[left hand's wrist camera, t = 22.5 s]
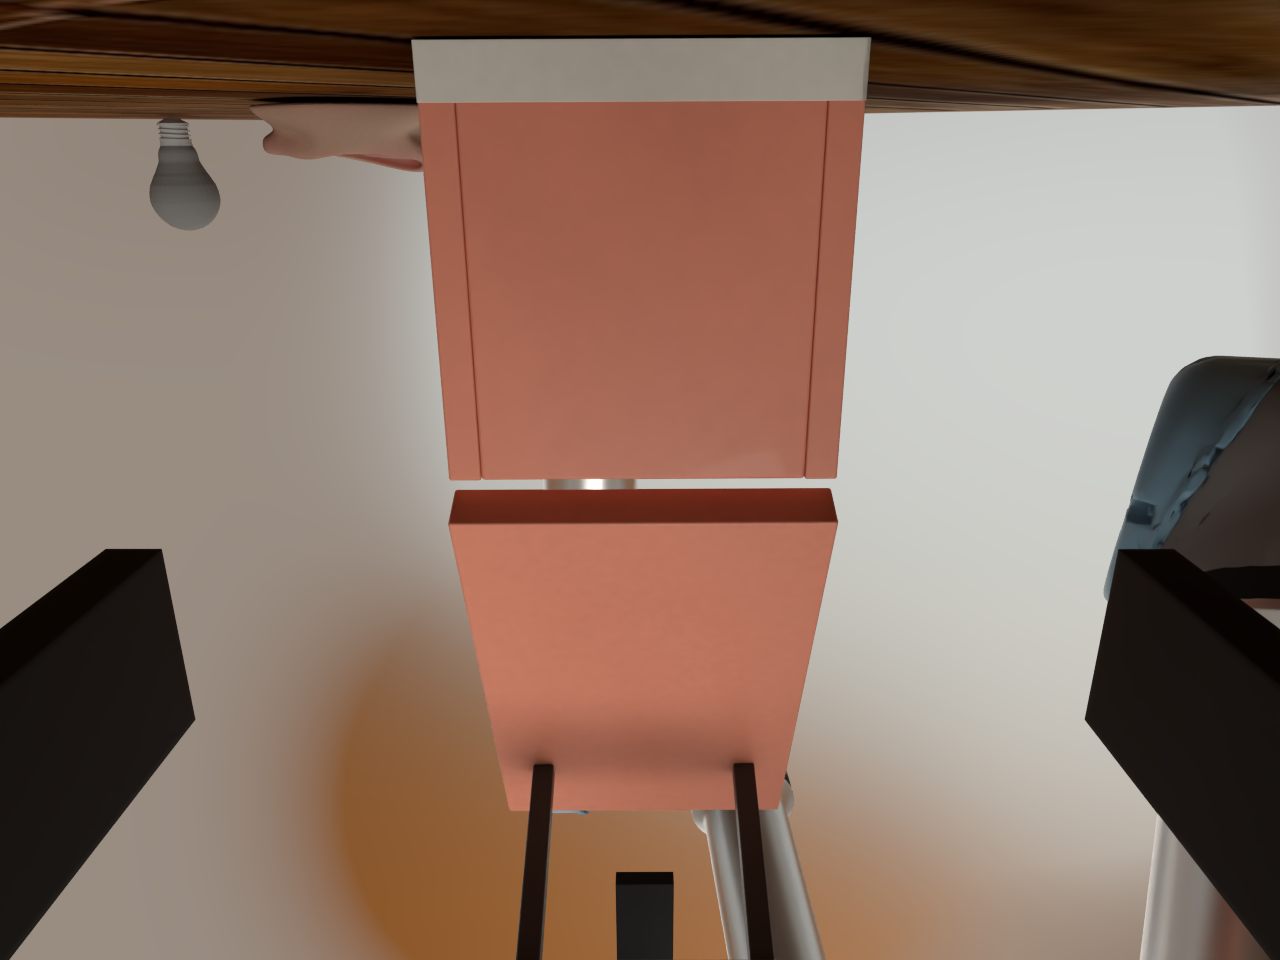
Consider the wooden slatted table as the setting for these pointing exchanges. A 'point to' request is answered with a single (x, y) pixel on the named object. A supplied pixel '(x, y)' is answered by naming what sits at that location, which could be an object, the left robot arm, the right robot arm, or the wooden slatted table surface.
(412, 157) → the anatomical model
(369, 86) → the wooden slatted table surface
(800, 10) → the wooden slatted table surface
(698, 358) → the chest
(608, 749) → the lid
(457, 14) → the wooden slatted table surface
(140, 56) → the wooden slatted table surface
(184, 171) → the light bulb
